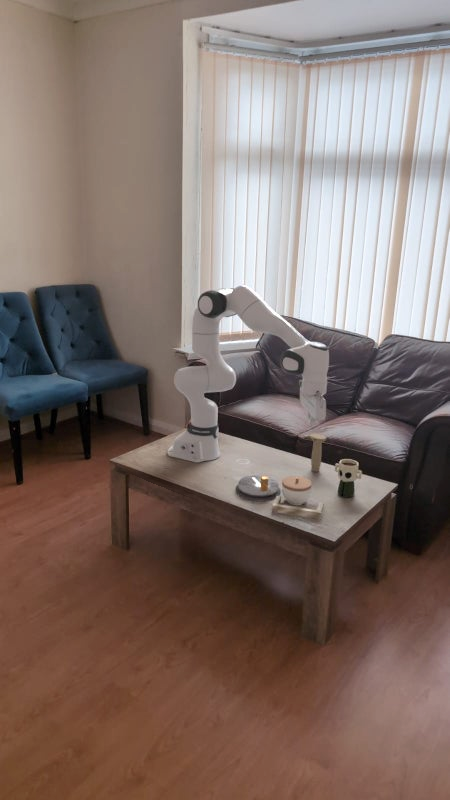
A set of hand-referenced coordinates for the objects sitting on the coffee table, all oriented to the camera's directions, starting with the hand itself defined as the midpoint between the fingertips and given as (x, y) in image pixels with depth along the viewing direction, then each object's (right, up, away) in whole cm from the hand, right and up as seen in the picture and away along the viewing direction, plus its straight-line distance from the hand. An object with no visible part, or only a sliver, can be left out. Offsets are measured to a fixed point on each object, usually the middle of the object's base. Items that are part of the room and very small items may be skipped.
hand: (311, 423), depth 227 cm
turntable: (-19, -26, +6) cm, 33 cm away
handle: (+5, -20, +25) cm, 33 cm away
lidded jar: (-6, -29, -2) cm, 29 cm away
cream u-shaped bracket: (-6, -31, -8) cm, 32 cm away
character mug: (+14, -27, +5) cm, 31 cm away
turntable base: (-19, -26, +6) cm, 33 cm away
